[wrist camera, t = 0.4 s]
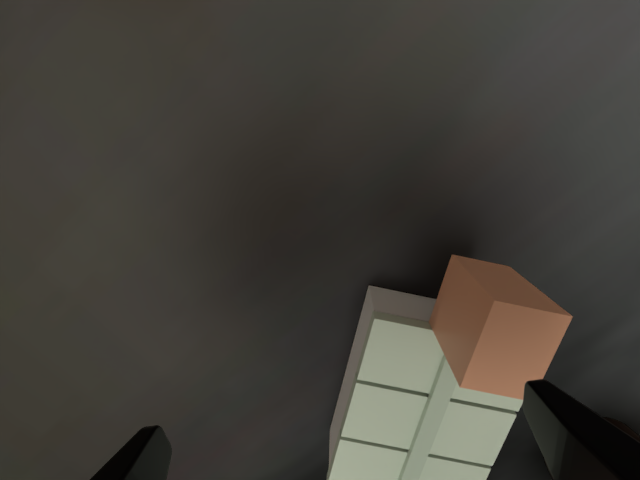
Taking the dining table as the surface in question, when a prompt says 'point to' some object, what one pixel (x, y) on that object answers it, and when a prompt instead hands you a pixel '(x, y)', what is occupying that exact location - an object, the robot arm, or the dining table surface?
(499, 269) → the lid
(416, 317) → the white open tray
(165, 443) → the robot arm
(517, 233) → the dining table surface
